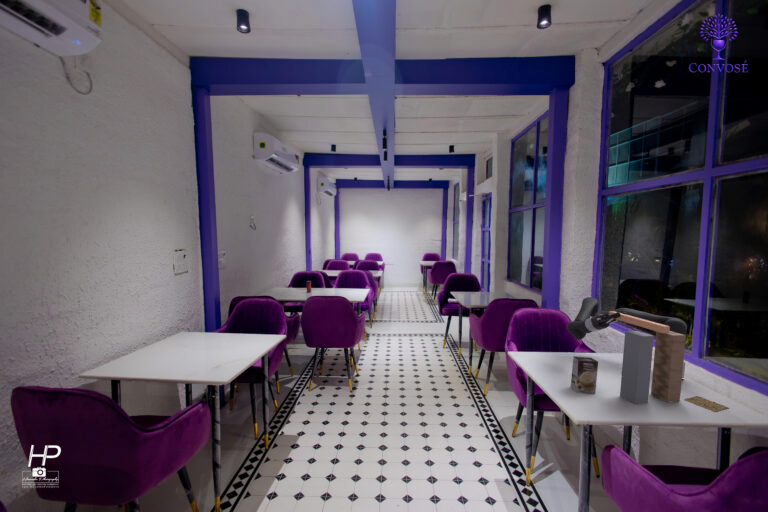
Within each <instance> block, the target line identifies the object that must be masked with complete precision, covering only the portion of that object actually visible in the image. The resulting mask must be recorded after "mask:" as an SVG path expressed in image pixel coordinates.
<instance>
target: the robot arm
mask: <svg viewBox="0 0 768 512" xmlns="http://www.w3.org/2000/svg"><path fill="white" fill-rule="evenodd" d="M580 306H581V307H580V308H579V309H580V310H579V311H578V313H577V315H576V316H575V318H574V320H573V321H570V322H568V323H567V324H566V330H567V331H568V333H569V334H571V336H572V337H573V338H574V339H575V340H583V339H584V338H585V337H586V335H587V334H590V333H595V332H597V331H601V330H604V329H607V328H609V326H610V325H611V324H613V323H616V322H617V323H623V324H628V325H631V326H637V325H634V324H630V323H627V322H624V321H620V320H617V319H614V318H618V317H620V316H621V315H620V313H622V314H626V315H630V316H633V317H637V318H641V319H644V320H648V321H652V322H655V323H659V324H663V325H666V326H670V331H672V332H676V333H680V334H683V335H686V336H687V330H688V324H687V323H686V321H684V320H682V319H680V318H679V317H673V316H672V317H671V316H664V315H663V316H662V315H657V314H652V313H650V312H649V313H648V312H645V311H641V310H636V309H633V308H628V307H620V308H616V309H612V310H611V311H615V312H617V313H614V314H610V315H609V311H610V310H602V309H601V310H600V308H599V306H600V303H599V300H598V299H597V298H595V297H588V296H587V297H585V298H583V299H582V302H581V305H580ZM637 327H638V326H637ZM685 351H686V350H684V353H685ZM685 369H686V362H685V361H683V372H682V378H684V379H685Z"/></svg>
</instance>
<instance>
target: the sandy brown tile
mask: <svg viewBox="0 0 768 512" xmlns="http://www.w3.org/2000/svg"><path fill="white" fill-rule="evenodd" d="M683 401H685V402H686V403H687V402H688V403H690V404H693V405H695V406H698V407H700V408H703V409H706V410H707V411H710V410H711V412H713V413H719V412H721V411H724V410H729V409H730V407H728V406H726V405H723V404H720V403H717V402H715V401H713V400H709V399H706V398H705V397H703V396H698V395H695V396H693V397H689V398H684V399H683Z"/></svg>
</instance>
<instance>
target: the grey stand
mask: <svg viewBox="0 0 768 512" xmlns="http://www.w3.org/2000/svg"><path fill="white" fill-rule="evenodd" d="M654 337H655V336H654V335H652V334H649V333H647V332H646V333H645V332H642V331H639V330H625V331H624V342H623V351H622V352H623V353H622V354H623V355H622V363H621V364H622V366H621V369H622V370H621V377H620V378H621V379H620V391H619V397H621V398H623V399H625V400H626V401H628V402H630V403H632V404H633V405H645V404H649V396H650V387H651V373H652V364H653V363H652V361H653V360H652V359H653V351H654Z"/></svg>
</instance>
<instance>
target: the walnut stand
mask: <svg viewBox="0 0 768 512" xmlns="http://www.w3.org/2000/svg"><path fill="white" fill-rule="evenodd" d="M655 332H656V333H655V344H654V354H653V368H652V377H651V387H650V388H651V389H650V390H651V391H650V394H651V395H652V396H654V397H656V398H658V399H659V400H663V401H664V402H666V403H674V402H681V393H682V391H681V390H682V383H683V382H682V372H683V361H684V360H685V352H684V350H685V349H686V340H687V339H686V338H687V334H686V335H683V334H680V333H676V332H672V331H669V333H661V332H657V331H655ZM685 351H686V350H685ZM684 362H685V361H684Z"/></svg>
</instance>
